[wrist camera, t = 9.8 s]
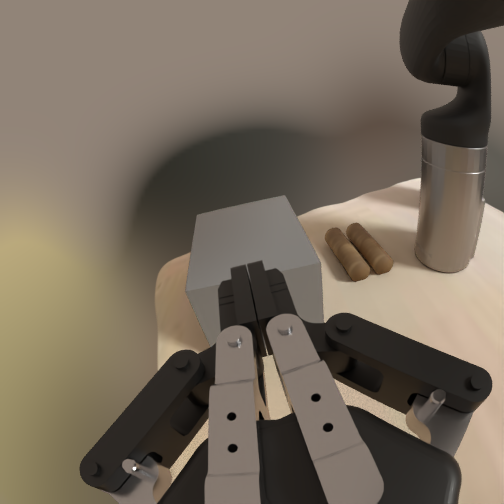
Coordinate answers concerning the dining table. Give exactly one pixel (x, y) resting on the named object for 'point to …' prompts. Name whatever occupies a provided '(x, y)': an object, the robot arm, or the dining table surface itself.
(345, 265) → the roller
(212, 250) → the grey rectangular block
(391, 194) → the dining table surface
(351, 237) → the roller
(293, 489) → the robot arm
